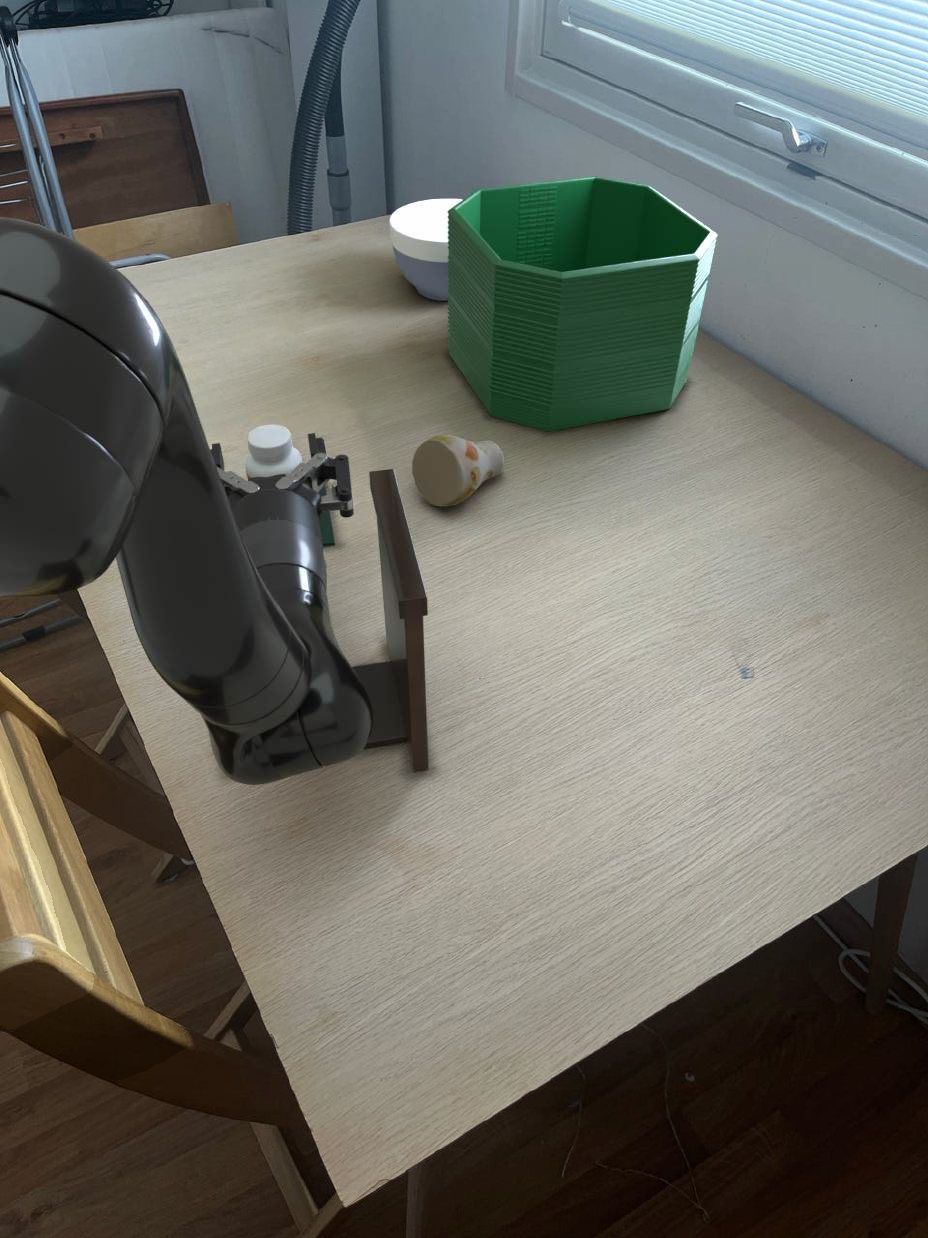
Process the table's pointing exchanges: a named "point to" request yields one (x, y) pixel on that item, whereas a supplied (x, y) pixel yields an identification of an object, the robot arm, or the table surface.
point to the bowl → (423, 245)
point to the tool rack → (398, 632)
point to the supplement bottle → (271, 452)
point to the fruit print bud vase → (454, 468)
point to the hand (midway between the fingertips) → (265, 446)
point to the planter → (575, 299)
